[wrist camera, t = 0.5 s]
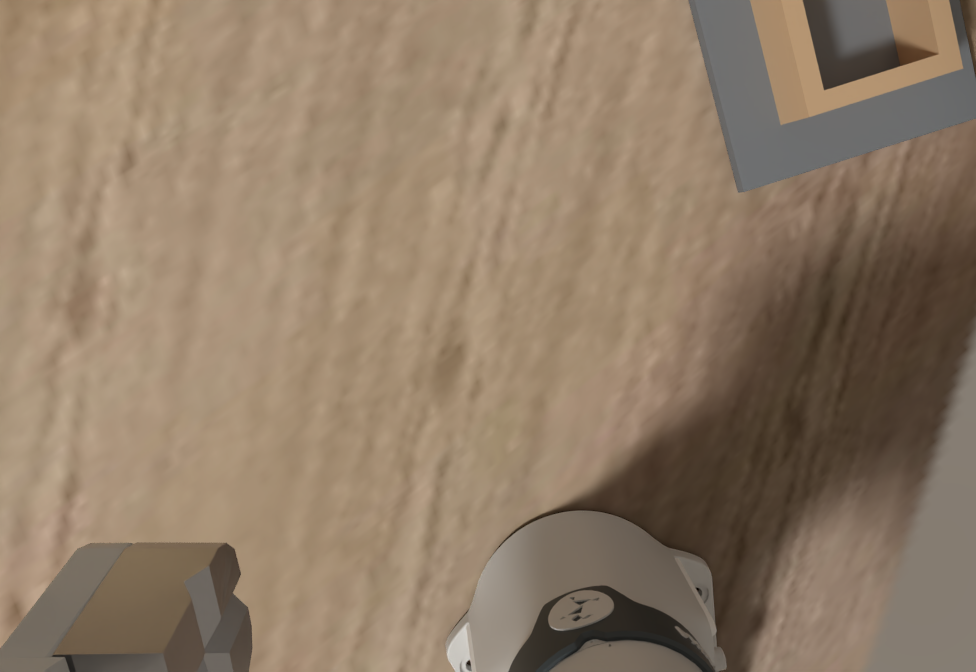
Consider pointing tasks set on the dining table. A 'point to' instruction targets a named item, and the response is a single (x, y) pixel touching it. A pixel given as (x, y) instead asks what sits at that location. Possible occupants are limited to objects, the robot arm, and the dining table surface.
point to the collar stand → (831, 78)
